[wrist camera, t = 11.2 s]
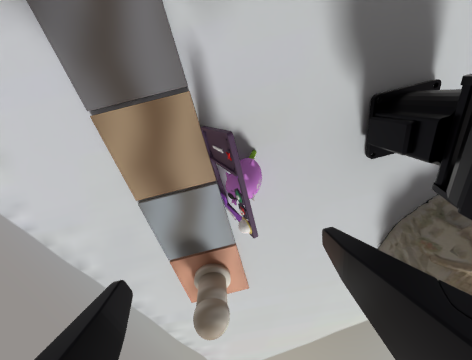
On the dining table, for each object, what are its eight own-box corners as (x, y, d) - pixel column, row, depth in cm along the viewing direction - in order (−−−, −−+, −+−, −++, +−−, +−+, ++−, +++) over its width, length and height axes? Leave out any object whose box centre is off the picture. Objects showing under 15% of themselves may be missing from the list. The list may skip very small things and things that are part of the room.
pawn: (225, 260, 24) (229, 319, 18) (233, 283, 26) (239, 344, 20) (189, 268, 24) (180, 330, 18) (200, 291, 26) (195, 354, 20)
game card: (216, 137, 11) (247, 243, 15) (284, 113, 13) (296, 216, 17) (192, 129, 17) (218, 208, 21) (241, 114, 18) (257, 190, 22)
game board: (144, -58, 12) (142, -63, 12) (248, 285, 27) (248, 288, 27) (16, -26, 12) (10, -30, 12) (192, 300, 27) (191, 302, 27)
